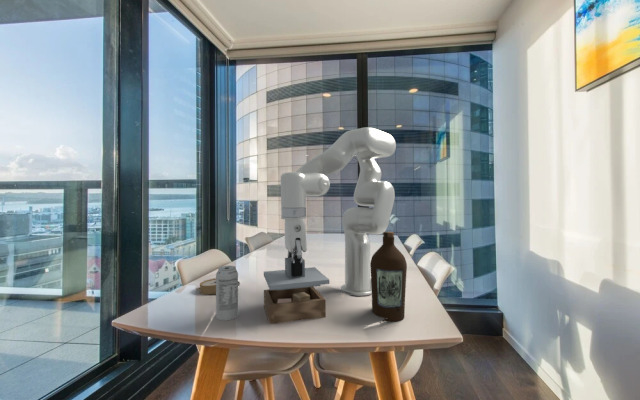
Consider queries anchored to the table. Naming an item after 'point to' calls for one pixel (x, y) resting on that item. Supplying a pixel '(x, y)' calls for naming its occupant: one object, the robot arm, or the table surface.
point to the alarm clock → (209, 286)
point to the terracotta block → (284, 300)
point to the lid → (286, 281)
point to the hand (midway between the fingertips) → (294, 272)
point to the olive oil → (388, 280)
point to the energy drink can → (226, 293)
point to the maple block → (301, 296)
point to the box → (293, 305)
